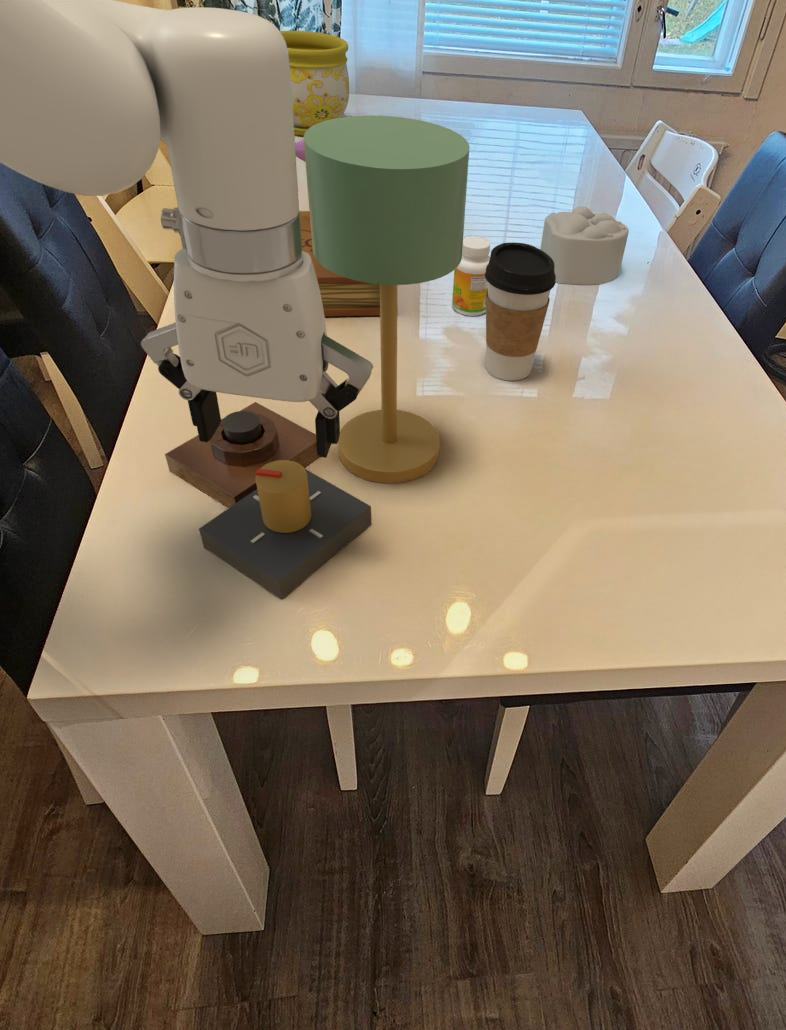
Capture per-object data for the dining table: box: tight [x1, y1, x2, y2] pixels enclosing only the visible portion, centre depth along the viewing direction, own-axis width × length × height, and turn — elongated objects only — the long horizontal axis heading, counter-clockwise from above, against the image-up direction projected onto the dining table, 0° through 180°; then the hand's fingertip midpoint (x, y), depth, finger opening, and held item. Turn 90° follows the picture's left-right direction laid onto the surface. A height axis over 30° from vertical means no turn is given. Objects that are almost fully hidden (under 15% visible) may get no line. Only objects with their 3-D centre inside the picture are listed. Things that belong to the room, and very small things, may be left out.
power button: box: [222, 410, 262, 445], centre depth 71 cm, size 4×4×2 cm
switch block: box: [164, 401, 321, 509], centre depth 73 cm, size 12×10×4 cm
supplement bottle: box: [451, 235, 491, 317], centre depth 99 cm, size 5×5×10 cm
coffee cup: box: [485, 242, 557, 382], centre depth 86 cm, size 8×8×15 cm
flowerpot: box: [279, 30, 350, 137], centre depth 150 cm, size 18×18×16 cm
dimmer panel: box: [198, 468, 372, 600], centre depth 66 cm, size 12×10×3 cm
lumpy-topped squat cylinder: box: [539, 206, 629, 286], centre depth 112 cm, size 10×13×9 cm
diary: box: [299, 210, 380, 317], centre depth 103 cm, size 23×19×6 cm
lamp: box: [303, 115, 470, 484], centre depth 67 cm, size 13×13×32 cm
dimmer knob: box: [256, 460, 312, 533], centre depth 63 cm, size 4×4×5 cm
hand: (268, 439), depth 59 cm, fingers open, 9 cm apart
